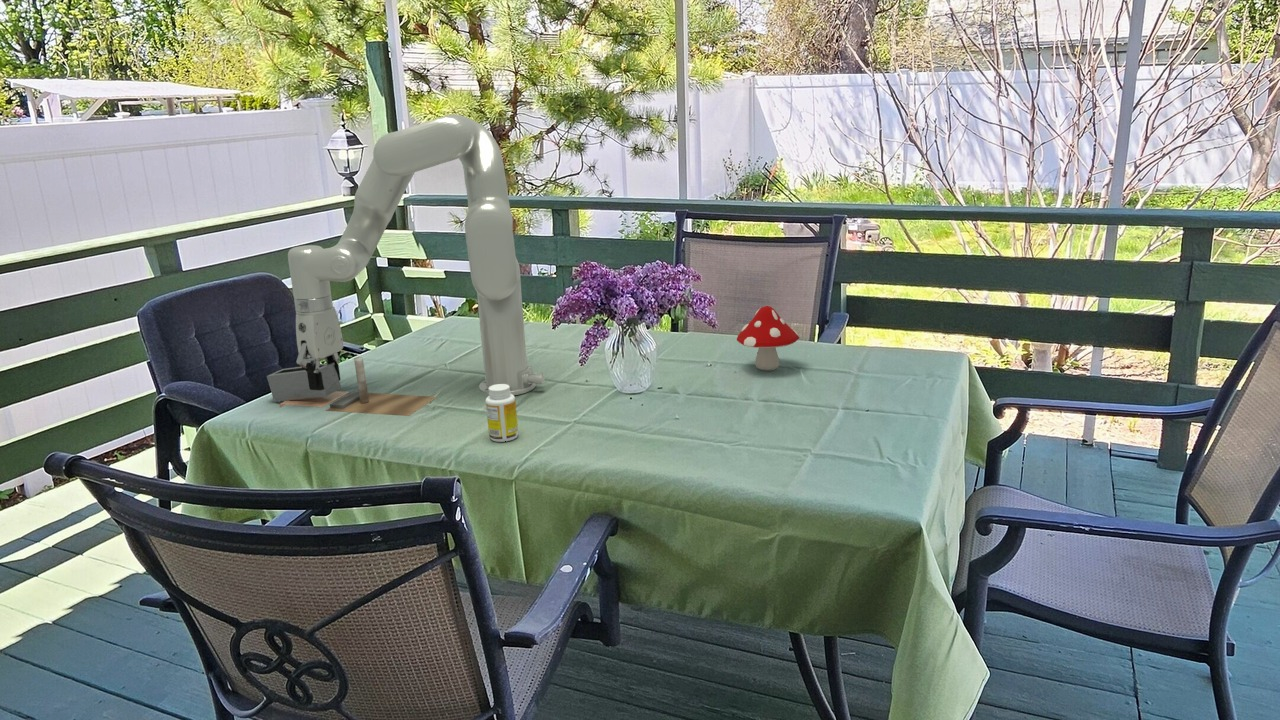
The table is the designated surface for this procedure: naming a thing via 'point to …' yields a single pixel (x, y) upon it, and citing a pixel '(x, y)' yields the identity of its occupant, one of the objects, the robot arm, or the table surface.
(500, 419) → the supplement bottle
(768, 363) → the decorative mushroom
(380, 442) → the table surface
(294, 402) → the terracotta tile
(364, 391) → the post block
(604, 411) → the table surface
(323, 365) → the steel link
